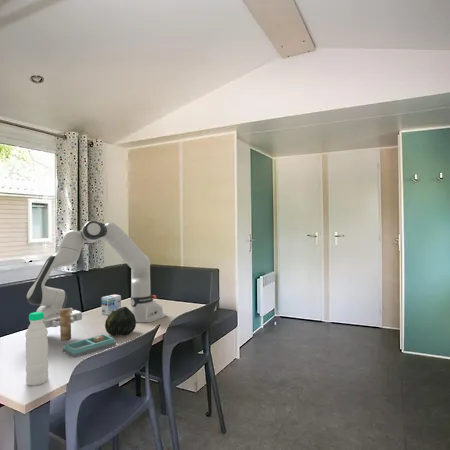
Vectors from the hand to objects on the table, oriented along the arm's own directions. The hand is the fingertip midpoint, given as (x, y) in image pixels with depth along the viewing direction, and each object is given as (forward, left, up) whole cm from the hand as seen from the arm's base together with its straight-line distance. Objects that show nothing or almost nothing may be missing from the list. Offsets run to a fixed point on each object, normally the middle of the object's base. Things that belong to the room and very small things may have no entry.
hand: (66, 322), depth 157 cm
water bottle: (+22, +30, -11) cm, 39 cm away
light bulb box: (-44, -38, -11) cm, 59 cm away
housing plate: (-6, +12, -11) cm, 17 cm away
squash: (-26, +5, -11) cm, 28 cm away
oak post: (0, -1, -8) cm, 8 cm away
